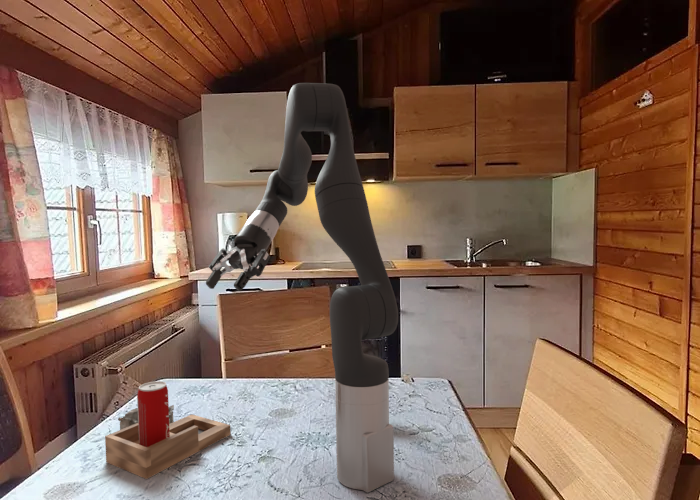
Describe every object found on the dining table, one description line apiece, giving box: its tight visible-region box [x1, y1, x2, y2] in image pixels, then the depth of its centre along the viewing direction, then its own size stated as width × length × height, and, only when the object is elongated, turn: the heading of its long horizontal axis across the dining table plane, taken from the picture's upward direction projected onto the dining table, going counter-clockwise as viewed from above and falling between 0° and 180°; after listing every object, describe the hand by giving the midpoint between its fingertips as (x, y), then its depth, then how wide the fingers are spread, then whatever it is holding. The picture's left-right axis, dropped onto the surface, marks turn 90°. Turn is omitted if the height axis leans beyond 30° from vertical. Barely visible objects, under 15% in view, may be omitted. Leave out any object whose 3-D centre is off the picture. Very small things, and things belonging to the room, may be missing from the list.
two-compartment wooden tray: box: [104, 414, 232, 480], centre depth 93 cm, size 12×20×5 cm, turn 149°
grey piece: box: [118, 404, 175, 430], centre depth 103 cm, size 11×8×4 cm
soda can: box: [136, 380, 170, 447], centre depth 89 cm, size 6×6×12 cm
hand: (222, 287), depth 101 cm, fingers open, 8 cm apart
